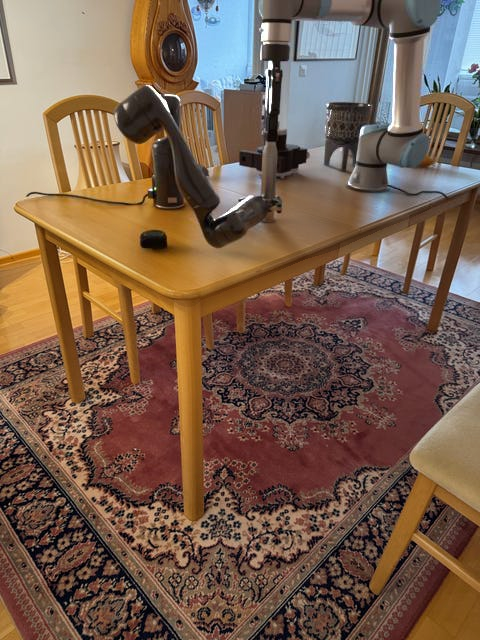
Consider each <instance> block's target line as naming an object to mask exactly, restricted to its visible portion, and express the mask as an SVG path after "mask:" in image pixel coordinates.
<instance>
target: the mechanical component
mask: <svg viewBox="0 0 480 640" xmlns="http://www.w3.org/2000/svg"><path fill="white" fill-rule="evenodd" d="M264 132H265V128H264V129H263V133H264ZM277 132H278V141H277V142H276V148H277V171H276V177H279V178H280V179H285V176H291V175H292V173H298V171H299V167H300V165H303V164H304V165H305V164H307V160H309V158H310V156H311V154H310V152H309V151H308V148H304V147H301V146H299V145H297V144H290V143H287V138H288V129H287V128H286V127H280V121H279V120H278V129H277ZM265 143H266V141H265V140H264V139H263V145H262V146H258V147H257V148H256V151H250V150H245V149H241V150H239V153H238V154H239V155H238V157H239V159H238V166H240V167H245V168H250V169H255V173H256V174H257V175H261V176H262V156H263V150H264V147H265Z"/></svg>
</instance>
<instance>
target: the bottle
mask: <svg viewBox="0 0 480 640" xmlns="http://www.w3.org/2000/svg"><path fill="white" fill-rule="evenodd" d="M276 171H277V148H276V142H267V141H266V143H265V147H264V150H263V156H262V175H261V179H260V180H261V182H260V183H261V184H260V194H261V198H263V199H267V198H272V199H273V198H274V197H276V187H277V176H276ZM274 221H275V210H272V212H269V213H268V214H267V216H266V217H265V218H264V219H263V220H262V221H261V222H262V223H273V222H274ZM261 222H260V223H261Z"/></svg>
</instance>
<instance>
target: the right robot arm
mask: <svg viewBox="0 0 480 640" xmlns="http://www.w3.org/2000/svg"><path fill="white" fill-rule="evenodd" d="M441 7H442V0H258V12H259V15H260V17H261V27H259V31H258V32H259V33H261V38H260V39H261V40H260V41H261V42H262V43H263V44H261V45H260V61H261V62H268V68H267V69H265V76H266V78H265V79H266V81H265V86H266V87H265V105H264V110H265V126H264V127H265V128H264V129H265V131H267V142H277V129H278V121H279V116H280V115H281V99H282V98H281V97H282V84H283V83H282V81H283V76H284V74H283V72H284V71H283V69H281V62H289V61H290V53H291V46H290V45H289V43H291V42H292V41H291V40H292V29H293V28H292V25H293V24H292V23H293V22H292V21H297V22H298V21H301V22H306V21H307V22H350V23H351V24H352V25H353V26H357V27H358V26H359V27H360V26H362V27H369V28H375V29H381V30H389V39H390V40H391V41H392V42H393V44H394V52H393V55H394V56H393V85H392V86H393V87H392V89H393V90H392V117H391V119H392V121H391V123H379V124H369V125H365V126H363V127H362V128H361V131H360V136H359V142H358V150H357V158H356V165H355V166H354V167H353V171H351V174H350V176H349V179H348V180H347V181H348V182H347V187H348V188H349V189H351V190H354V191H358V192H363V193H364V192H365V193H382V192H386V191H388V189H389V188H392V189H393V190H396V191H400V192H401V193H404V194H405V195H408V196H412V197H415V196H419V195H421V194H439V195H441V196H443V197H444V198H445V200H450V198H449V197H448V196H447V194H445V193H444V192H442V191H438V190H419V191H418V192H417V193H411V192H408V191H406V190H404V189H401V188H400V187H396V186H394V185H391V184H389V178H388V173H387V172H388V171H387V166H388V165H392V166H396V167H399V168H402V169H403V168H404V169H414V168H416V167H419V166H418V165H419V164H420V163H421V162H422V161H423V159H424V158H425V157H426V155H428V152H429V150H430V146H431V140H430V139H431V138H430V137H429V135H428V134H427V133H424V123H423V122H421V121H420V112H421V111H420V110H421V98H422V97H421V95H422V78H423V64H424V47H425V39H426V37H428V35H429V34H430V33H431V27H432V26H433V25H434V24H435V23H436V22H437V20H438V16H439V15H440V13H441Z"/></svg>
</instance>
